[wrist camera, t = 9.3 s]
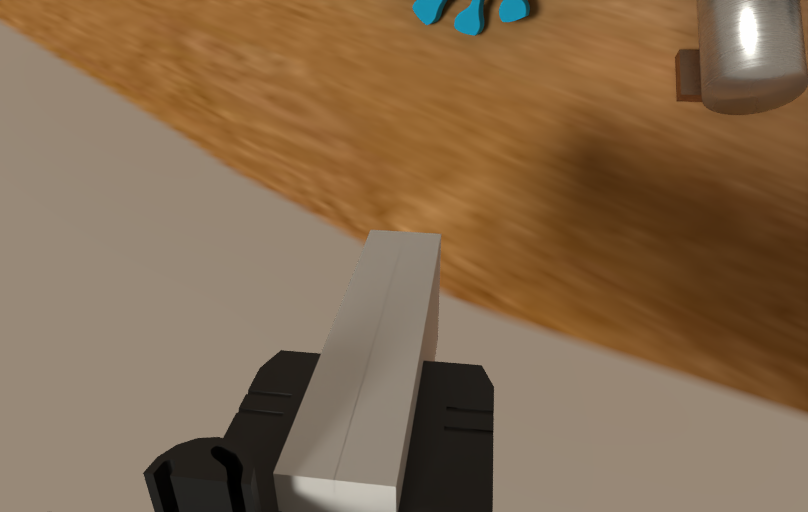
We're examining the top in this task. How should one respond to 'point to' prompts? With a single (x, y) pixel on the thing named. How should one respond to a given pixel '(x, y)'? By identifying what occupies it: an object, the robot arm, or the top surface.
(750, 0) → the guide pipe
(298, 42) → the top surface
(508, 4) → the gear
